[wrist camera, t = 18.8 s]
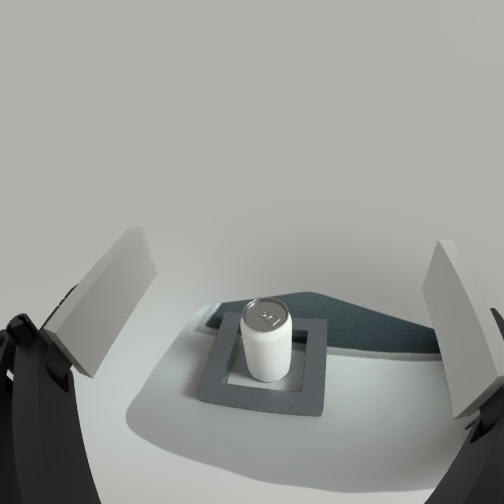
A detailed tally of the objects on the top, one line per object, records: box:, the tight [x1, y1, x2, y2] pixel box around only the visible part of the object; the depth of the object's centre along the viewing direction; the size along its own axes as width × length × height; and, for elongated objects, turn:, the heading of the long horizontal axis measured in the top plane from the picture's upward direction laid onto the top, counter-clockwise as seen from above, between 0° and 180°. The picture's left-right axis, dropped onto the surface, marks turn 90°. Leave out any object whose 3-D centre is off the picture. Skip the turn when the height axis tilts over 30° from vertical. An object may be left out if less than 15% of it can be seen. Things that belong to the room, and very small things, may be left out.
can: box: [240, 297, 292, 382], centre depth 36 cm, size 6×6×12 cm
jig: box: [196, 312, 327, 416], centre depth 39 cm, size 17×16×2 cm
